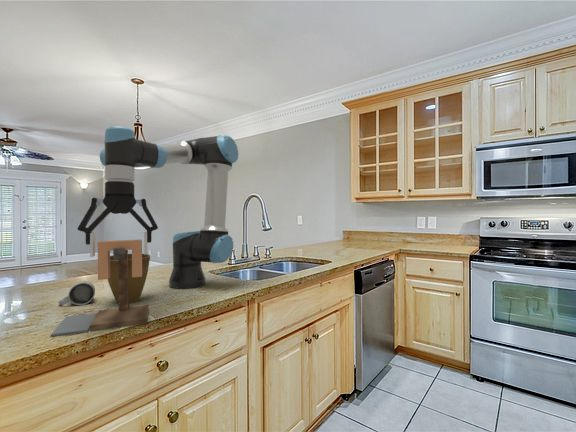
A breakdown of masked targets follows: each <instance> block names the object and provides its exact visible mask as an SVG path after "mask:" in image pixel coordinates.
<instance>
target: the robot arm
mask: <svg viewBox="0 0 576 432" xmlns="http://www.w3.org/2000/svg"><path fill="white" fill-rule="evenodd" d="M104 133H105V134H104V141H103V142H104V148H102V149H101V150H100V153H99V160H100V163H101V164H102V165H103V167H104V179H105V180H106V181H105V183H104V197H103V198H97V197H92V198H91V201H90V206H89V208H88V209H87V210H86V211H87V212H86V213H85V215H84V217H83V218H82V220H81V222H80V224H79V225H78V226H77V231H79V232H83V233H84V234H85V245H88V246H89V258H93V257H95V256H96V232H93V231H94V230H95V229H96V228H97V227H98V226H99V224H101V222H102V221H104V220H105V219H106V217H108V215H110V214H115V215H116V214H118V215H119V214H122V215H124V214H125V215H127V214H130V215H132V217H133V218H134V219H135V220H136V221H137V222H138V223H139V224H140V225H141V226H142V227H143V228H144V229H145V231H144V233H143V234H144V235H143V236H144V237H143V238H144V239H143V242H144V243H143V249H144V250H143V254H148V243H152V233H153V231H156V230H158V228H159V226H158V224H157V223H156V220H155V219H154V217H153V216H152V214H151V211H150V210H149V207H148V206H147V205H148V204H147V200H146V199H145V198H142V199H141V198H140V199H136V198H135V184H134V181H135V168H145V167H146V168H147V167H150V168H152V169H154V168H156V169H160V168H163V167H164V166H165V165H169V164H177V163H179V164H181V165H204V167H205V169H206V170H207V176H206V179H207V180H206V194H205V207H204V208H205V210H204V223H203V227H202V228H201V229H200V230H195V231H185V232H177V233H175V234H174V235H173V237H172V269H171V270H172V271H171V274H170V277H169V279H168V280H169V281H168V287H169V288H172V289H193V288H199V287H201V286H204V285H206V277H205V274H204V271H203V268H202V263H210V264H211V263H212V264H223V263H225V262H226V261H228V260H230V259H229V258H230V257H231V256H232V254H233V250H234V240H233V238H232V236H231V235H229V230H228V229H227V227H226V218H227V217H226V213H227V199H228V198H227V195H228V183H229V182H228V181H229V180H228V179H229V172H230V171H231V170H233V164H235V163H237V161H238V159H239V150H238V149H239V148H238V146H237V143H236V141H235V139H233V138H232V136H230V135H219V134H218V135H217V136H214V135H213V136H207V137H200V138H195V139H189V140H185V141H183V140H182V141H178V142H177V143H169V144H157V143H152V142H148V141H144V140H140V139H138V138H136V136H135V131H134V130H133V129H131V128H130V127H125V126H119V125H117V126H116V125H113V126H108V127H107V128H106V129H105V132H104ZM101 204H103V205H104V206H105V207H106V208H105V209H104V210H103V211H102V212H101V214H100V215H99V216H98V217H96V218H95V220H93V222H91V224H90V225H88V223H89V222H90V220H91V219H92V217H93V215H94V213H95V211H96V209H97V208H98V207H99V206H101ZM136 204H138V206H139V207H141V208H142V210H143V212H144V213H145V215H146V217H147V219H148V221H149V222H150V224H151V226H150V225H148V224H147V222H146V221H144V219H143V218H142V217H141V215H139V214H138V213H137V212H136V210H135V209H134V207H135V206H136ZM87 225H88V227H87Z"/></svg>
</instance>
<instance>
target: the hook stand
mask: <svg viewBox="0 0 576 432" xmlns="http://www.w3.org/2000/svg"><path fill="white" fill-rule="evenodd" d="M112 253H113V255H112V256H113V259H118V268H119V303H118V307H117V308H109V309H106V308H105V309H99V310H98V311H97V312H96V313H97V314H96V316H95V318H94V319H93V321H92V323H91V325H90V329H89V331H90V332H93V331H95V332H96V331H102V330H110V329H115V328H116V329H117V328H125V327H131V326H138V325H146V324H147V325H148V322H149V321H148V319H149V304H145V305H135V306H129V303H128V254H129V250H125V248H114V249H113V251H112Z"/></svg>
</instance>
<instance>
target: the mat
mask: <svg viewBox="0 0 576 432" xmlns="http://www.w3.org/2000/svg"><path fill="white" fill-rule="evenodd" d="M97 313H98V312H95V313H85V314H77V315H76V314H75V315H69V316H68V315H67V316H65V317H64V318H63V320H62V321H61V322H60V323H59V325H57V326H56V328H55V329H54V330H53V331H52V332H51V333H50V337H51V338H52V337H53V338H54V337H60V336H61V337H62V336H68V335H76V334H82V333H83V334H84V333H88V332H89V331H90V325H91V323H92V321H93V319H94V318H95V316H96V314H97Z"/></svg>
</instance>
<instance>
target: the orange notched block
mask: <svg viewBox="0 0 576 432" xmlns="http://www.w3.org/2000/svg"><path fill="white" fill-rule="evenodd" d="M114 248H125V250H128V251H130V250H131V254H132V277H142V254H143V240H142V239H122V240H121V239H120V240H119V239H118V240H117V239H116V240H115V239H114V240H99V241H98V242H97V280H98V281H102V280H108V279H109V277H110V256H111V251H112V252H113V249H114Z"/></svg>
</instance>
